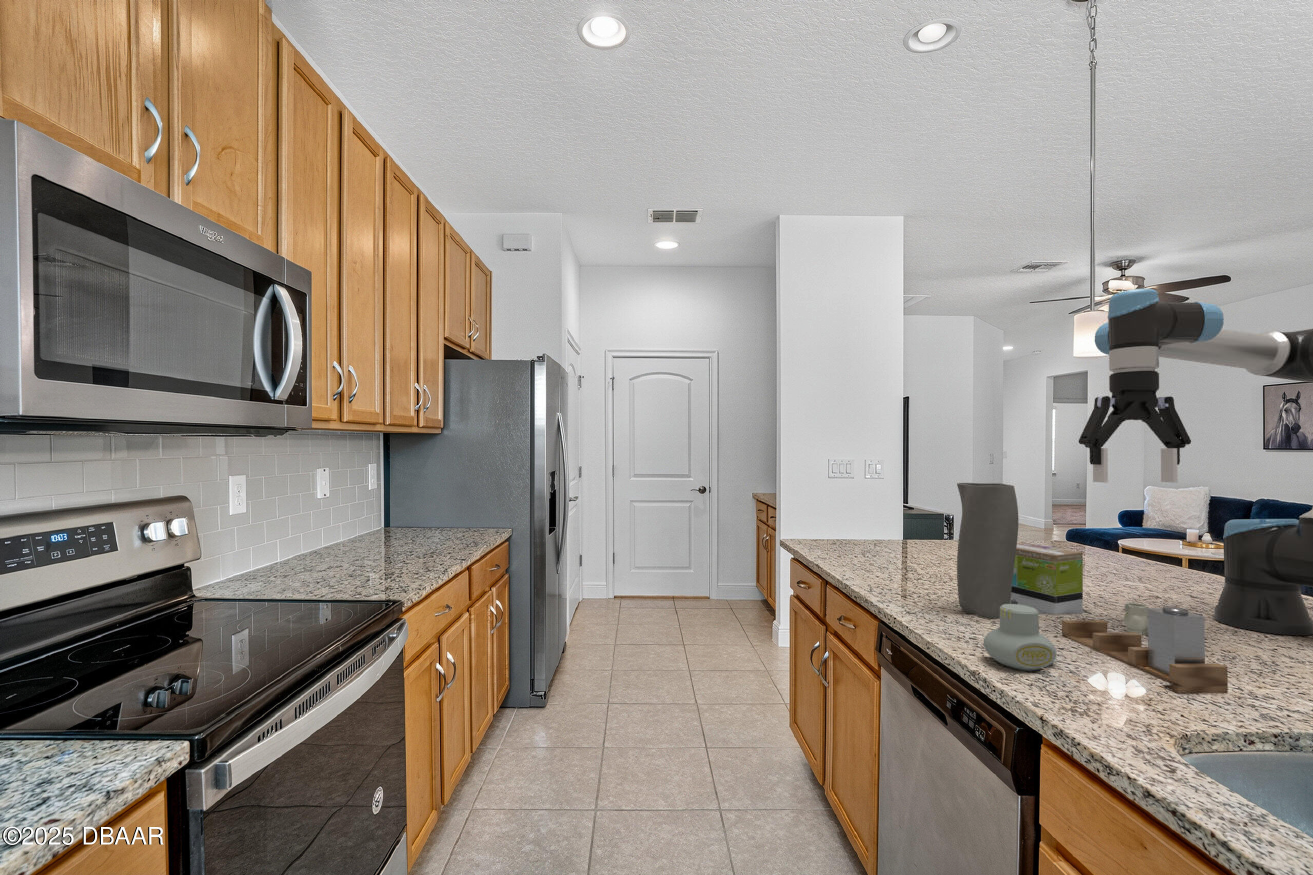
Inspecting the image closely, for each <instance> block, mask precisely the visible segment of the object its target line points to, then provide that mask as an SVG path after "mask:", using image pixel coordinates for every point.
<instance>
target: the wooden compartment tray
mask: <svg viewBox="0 0 1313 875" xmlns="http://www.w3.org/2000/svg"><path fill="white" fill-rule="evenodd" d="M1061 634H1062V635H1061V636H1062V637H1064V638H1066V639H1068V640H1071V641H1074V642H1075V643H1077V644H1079V645H1081V646H1083V647H1087V648H1088V649H1091V650H1094V651H1095V652H1098V653H1100V654H1103V655H1104V656H1107V657H1109V658H1112V659H1114V660H1117V661H1118V662H1120V663H1123V664H1125V665H1128V666H1130V667H1132V668H1134V669H1136V670H1139V671H1141V672H1143V673H1146V674H1148V675H1149V676H1153V677H1155V678H1156V679H1159V680H1161V681H1163V682H1166V683H1168V684H1162V685H1160V686H1162V687H1164V688H1166V689H1168V690H1171V691H1173V692H1175V693H1178V694H1207V693H1208V694H1212V693H1214V694H1215V693H1216V694H1219V693H1220V694H1223V693H1225V694H1226V693H1227V694H1228V693H1229V692H1228V691H1229V689H1228V688H1229V686H1228V681H1229V679H1228V674H1229V673H1228V666H1227V665H1223V664H1221V663H1216V662H1215V663H1211V662H1210V663H1209V662H1208V663H1207V662H1205V664H1169V677H1168V676H1165V675H1163V674H1161V673H1158V672H1156V671H1154V670H1151V669H1149V668H1148V646H1143V645H1142V636H1143V635H1140V634H1137V633H1129V632H1108V622H1107V621H1104V620H1101V619H1097V620H1095V619H1091V620H1090V619H1089V620H1088V619H1085V620H1084V619H1083V620H1082V619H1081V620H1079V619H1078V620H1077V619H1074V620H1073V619H1070V620H1064V619H1063V620H1061Z"/></svg>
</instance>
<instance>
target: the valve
mask: <svg viewBox="0 0 1313 875" xmlns="http://www.w3.org/2000/svg"><path fill="white" fill-rule="evenodd" d="M1148 608H1150V607H1149V606H1148V605H1146V604H1142V603H1137V602H1126V603H1124V612H1125V614H1124V616H1123V623H1124V625H1125V627H1124V630H1125V631H1126V633H1137V634H1140V635H1141V636H1144V635H1147V636H1148ZM1197 614H1198V615H1201V616H1204V615H1203V614H1202V613H1197Z"/></svg>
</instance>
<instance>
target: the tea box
mask: <svg viewBox="0 0 1313 875" xmlns="http://www.w3.org/2000/svg"><path fill="white" fill-rule="evenodd" d="M1083 559H1084V558H1083V552H1082V551H1078V550H1077V551H1076V550H1071V549H1065V548H1060V547H1054V546H1047V545H1041V544H1035V543H1029V542H1023V541H1022V542H1017V547H1016V555H1015V563H1014V571H1013V580H1012V590H1011V601H1010V604H1018V605H1025V606H1029V607H1033V608H1035V609H1036V610H1037V611H1038V615H1054V616H1059V615H1083V610H1084V609H1083V608H1084V607H1083V605H1084V604H1083V603H1084V600H1083V599H1084V594H1083V592H1084V591H1083V590H1084V588H1083V586H1084V585H1083V584H1084V582H1083V581H1084V580H1083V579H1084V577H1083V576H1084V575H1083V574H1084V572H1083V571H1084V568H1083V567H1084V566H1083V565H1084V564H1083V562H1084V560H1083Z"/></svg>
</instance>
